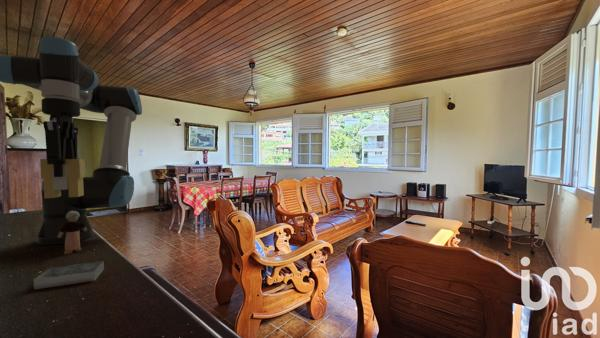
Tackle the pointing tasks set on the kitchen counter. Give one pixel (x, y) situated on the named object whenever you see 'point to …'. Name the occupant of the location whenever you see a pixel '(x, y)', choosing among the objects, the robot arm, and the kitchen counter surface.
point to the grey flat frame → (69, 274)
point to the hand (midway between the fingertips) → (64, 188)
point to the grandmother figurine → (72, 232)
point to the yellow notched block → (73, 173)
